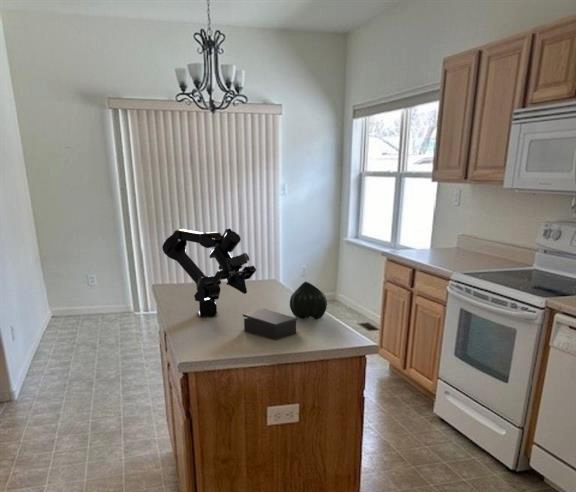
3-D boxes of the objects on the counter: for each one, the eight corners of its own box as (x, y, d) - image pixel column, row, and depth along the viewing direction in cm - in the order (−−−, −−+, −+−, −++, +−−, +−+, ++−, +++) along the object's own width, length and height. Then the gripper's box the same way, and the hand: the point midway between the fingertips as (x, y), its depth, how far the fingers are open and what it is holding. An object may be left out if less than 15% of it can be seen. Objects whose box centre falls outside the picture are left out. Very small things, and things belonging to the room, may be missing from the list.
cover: (242, 316, 197) (242, 314, 197) (263, 310, 205) (264, 308, 205) (275, 326, 187) (275, 324, 187) (296, 320, 196) (296, 318, 195)
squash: (323, 311, 206) (326, 277, 211) (285, 310, 208) (289, 277, 213) (326, 327, 219) (329, 295, 224) (290, 326, 222) (294, 294, 227)
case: (244, 330, 199) (244, 318, 197) (265, 324, 207) (265, 312, 205) (275, 339, 189) (275, 326, 187) (296, 332, 197) (296, 320, 196)
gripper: (216, 248, 191) (238, 283, 189) (252, 244, 204) (273, 276, 202) (202, 267, 199) (223, 301, 196) (238, 262, 212) (258, 294, 210)
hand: (245, 293), depth 201 cm, fingers closed
